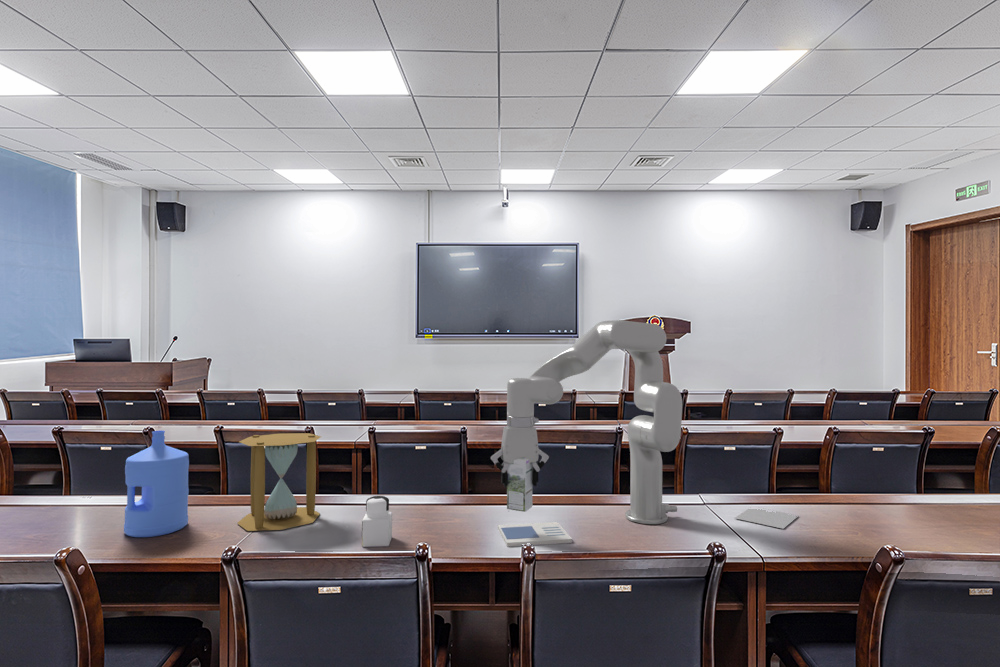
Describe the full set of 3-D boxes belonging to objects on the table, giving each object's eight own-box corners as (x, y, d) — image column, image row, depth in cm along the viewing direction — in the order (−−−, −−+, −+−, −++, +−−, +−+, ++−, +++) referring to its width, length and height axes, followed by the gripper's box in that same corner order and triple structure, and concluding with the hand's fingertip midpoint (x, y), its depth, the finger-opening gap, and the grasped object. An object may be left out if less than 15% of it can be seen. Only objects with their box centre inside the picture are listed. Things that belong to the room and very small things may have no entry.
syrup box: (533, 506, 153) (533, 455, 153) (525, 512, 147) (525, 459, 148) (514, 504, 155) (514, 453, 155) (506, 509, 150) (506, 457, 150)
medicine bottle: (365, 537, 149) (366, 494, 150) (392, 537, 150) (392, 493, 150) (361, 547, 142) (361, 501, 142) (388, 546, 143) (389, 501, 143)
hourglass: (235, 537, 149) (236, 446, 150) (238, 513, 170) (239, 434, 170) (324, 525, 159) (325, 440, 160) (317, 505, 179) (317, 429, 180)
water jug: (179, 516, 167) (181, 425, 167) (194, 529, 156) (196, 431, 156) (118, 528, 156) (120, 431, 156) (130, 542, 145) (132, 438, 145)
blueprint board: (557, 525, 160) (557, 521, 160) (572, 542, 146) (572, 538, 146) (497, 528, 157) (497, 525, 157) (506, 546, 143) (506, 542, 143)
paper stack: (833, 524, 163) (833, 522, 163) (812, 547, 145) (812, 544, 145) (752, 508, 179) (752, 506, 179) (724, 526, 161) (724, 524, 161)
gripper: (546, 420, 157) (546, 481, 157) (487, 421, 154) (486, 483, 153) (553, 423, 150) (553, 487, 149) (491, 424, 146) (491, 490, 146)
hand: (519, 485), depth 151 cm, fingers closed on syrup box, 7 cm apart
